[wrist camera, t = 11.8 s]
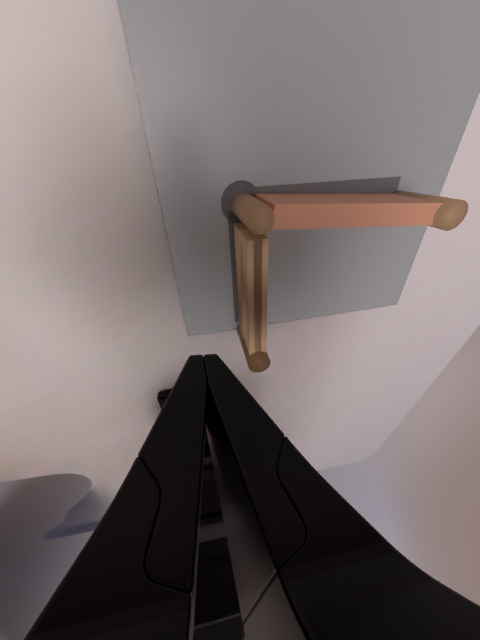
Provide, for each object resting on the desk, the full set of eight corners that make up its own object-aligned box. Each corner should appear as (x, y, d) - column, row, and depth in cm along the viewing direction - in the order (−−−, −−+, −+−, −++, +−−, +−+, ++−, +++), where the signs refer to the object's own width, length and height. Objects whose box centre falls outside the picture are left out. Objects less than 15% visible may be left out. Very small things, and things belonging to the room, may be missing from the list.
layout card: (392, 301, 24) (397, 304, 23) (188, 332, 21) (188, 337, 20) (545, -109, 11) (564, -122, 11) (84, -165, 8) (77, -187, 8)
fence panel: (231, 217, 16) (246, 237, 12) (231, 190, 15) (247, 201, 11) (401, 214, 18) (458, 230, 14) (410, 190, 17) (473, 200, 13)
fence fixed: (255, 333, 21) (269, 370, 18) (237, 336, 21) (248, 373, 18) (254, 221, 16) (275, 241, 12) (230, 223, 16) (245, 244, 12)
